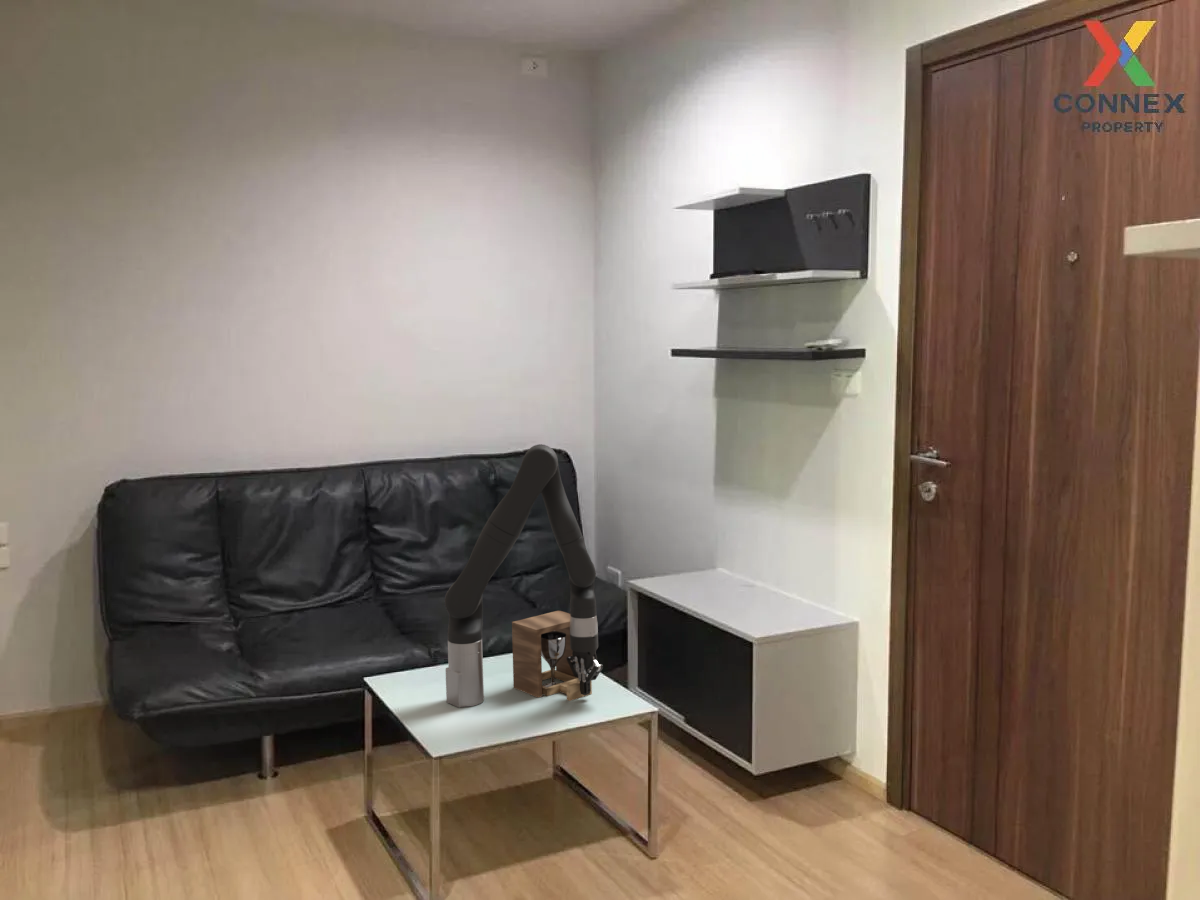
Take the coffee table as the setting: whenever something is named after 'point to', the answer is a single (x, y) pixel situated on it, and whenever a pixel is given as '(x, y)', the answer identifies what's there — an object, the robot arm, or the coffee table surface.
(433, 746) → the coffee table surface
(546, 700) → the coffee table surface
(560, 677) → the drawer
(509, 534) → the robot arm
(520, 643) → the wooden arch frame
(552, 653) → the wine glass
